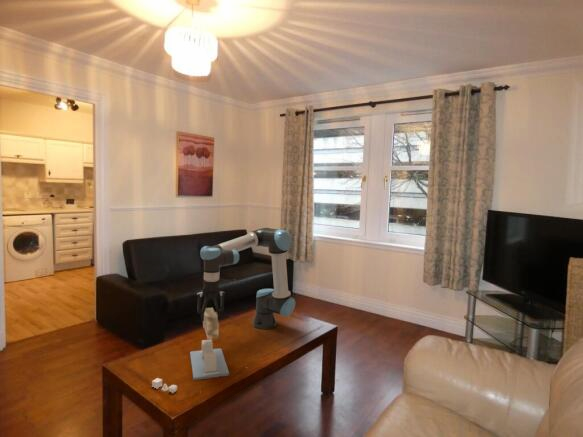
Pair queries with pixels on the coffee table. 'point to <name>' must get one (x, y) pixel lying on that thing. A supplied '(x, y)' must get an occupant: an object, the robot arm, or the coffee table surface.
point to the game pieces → (158, 383)
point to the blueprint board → (200, 365)
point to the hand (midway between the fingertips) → (210, 326)
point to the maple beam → (211, 324)
